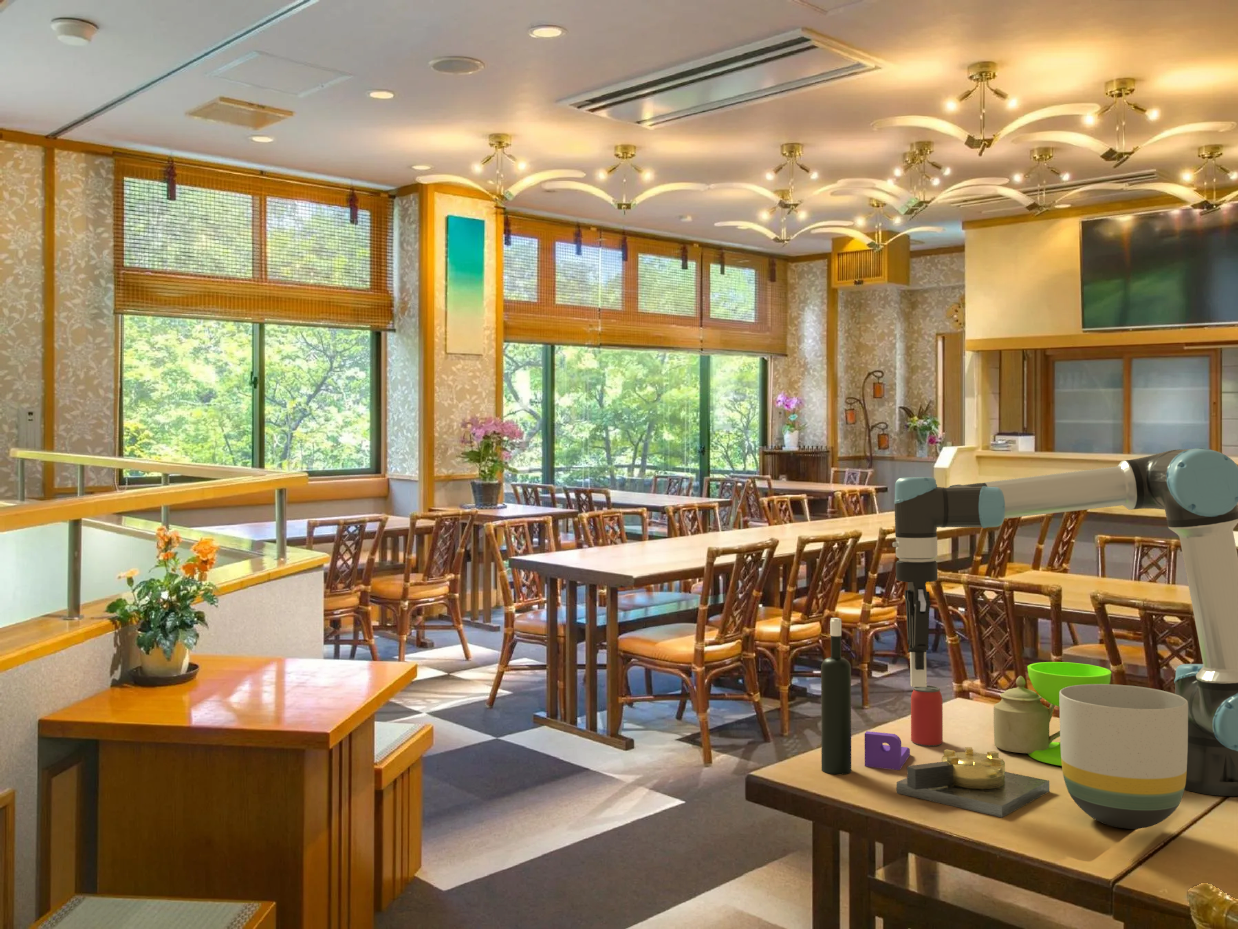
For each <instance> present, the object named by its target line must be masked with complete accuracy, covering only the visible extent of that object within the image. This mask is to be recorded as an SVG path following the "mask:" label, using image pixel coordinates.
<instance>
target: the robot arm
mask: <svg viewBox="0 0 1238 929" xmlns="http://www.w3.org/2000/svg"><path fill="white" fill-rule="evenodd" d="M893 502H894V503H893V504H894V530H895V531H894V532H895V534H894V535H895V541H893V542H892V546H891V547H893V548H895V557H896V558H898V560H897V561H896V562H895V579H896V581H899V582H904V583H907V589H905V590H904V602H905V614H906V630H907V642H906V643H907V644H908V648H907V652H908V653H909V663H910V664H909V665H910V668H909V672H910V674H909V675H910V676H909V677H910V680H909V681H910V686H911V688H913V687H927V685H928V684H927V683H928V682H927V679H928V678H927V677H928V676H927V651H929V648H930V647H929V641H930V640H929V634H930V632H929V630H930V609H931V603H932V602H931V600H930V596H931V595H930V591H928V590H927V585H926V584H927V583H933V582H936V581H937V580H938V576H939V575H938V574H939V573H938V571H939V570H938V562H937V560H935V559H937V558H938V533H937V530H938V528H983V529H987V528H997V527H1001V526H1002V524H1003V523H1004V521H1005V519H1013V518H1020V517H1021V518H1022V517H1031V516H1037V515H1038V516H1040V515H1049V514H1057V513H1068V512H1075V511H1085V510H1092V509H1102V508H1103V509H1104V508H1111V507H1121V506H1122V507H1124V508H1126V509H1128V510H1130V511H1133V510H1140V509H1141V510H1143V509H1145V510H1146V509H1150V510H1151V509H1154V510H1164V512H1165V517H1166V523H1167V528H1168V529H1169V530H1170V531H1172V532H1173V533H1175V534H1176V535H1178V538H1179V543H1180V548H1181V553H1182V558H1183V564H1184V570H1185V574H1186V580H1187V585H1188V591H1189V597H1190V600H1191V601H1190V602H1191V606H1192V612H1193V616H1194V621H1195V622H1194V623H1195V628H1196V633H1197V638H1198V644H1199V649H1200V655H1201V659H1202V663H1183V664H1180V665H1178V666H1177V667H1176V668H1175V678H1174V679H1173V682H1174V687H1175V688H1174V689H1175V690H1174V694H1176V695H1179V696H1181V697H1183V698H1185V699H1186V700H1187V702H1188V752H1187V774H1186V784H1185V789H1184V791H1189V792H1193V793H1197V794H1202V795H1210V796H1218V797H1219V796H1220V797H1238V551H1237V550H1238V549H1237V545H1236V540H1235V535H1234V529H1235V527H1236V526H1237V525H1238V465H1237V463H1236V462H1235V461H1234V460H1233V458H1231V457H1230V456H1227V455H1226V454H1225V453H1222V452H1220V451H1217V450H1213V449H1210V448H1203V447H1198V448H1189V449H1188V448H1187V449H1186V448H1185V449H1170V450H1167V451H1163V452H1159V453H1156V454H1152V455H1148V456H1144V457H1139V458H1133V459H1126V460H1125V459H1123V460H1121V461H1120V462H1119V463H1118V465H1117V466H1112V467H1111V466H1110V467H1102V468H1094V469H1085V470H1077V471H1076V470H1075V471H1069V472H1061V473H1060V472H1059V473H1051V474H1045V475H1035V476H1027V477H1019V478H1018V477H1017V478H1011V479H1002V480H995V481H985V482H978V483H968V484H952V485H949V486H948V487H944V486H943V487H941V486H938V484H937V480H936V478H934V477H932V476H925V477H924V476H919V477H918V476H915V477H914V476H911V477H909V476H908V477H907V476H906V477H900V478H898V479H897V480H896V482H895V483H894V501H893Z"/></svg>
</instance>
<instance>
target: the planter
mask: <svg viewBox="0 0 1238 929" xmlns="http://www.w3.org/2000/svg"><path fill="white" fill-rule="evenodd" d="M1059 706H1060V707H1059V731H1060V737H1059V740H1060V741H1059V742H1060V746H1061V763H1062V766H1061V771H1062V776H1063V780H1064V783H1065V786H1066V790H1067V792H1068V794H1069V795H1070V797H1071V799H1072V800H1073V801H1074V804H1076V805H1077V807H1079V809H1080V810H1082V811H1083V812H1084V813H1085V814H1087V815H1088V816H1089V817H1090V818H1092V819H1094V820H1095V821H1097V822H1100V823H1102V824H1104V825H1106V826H1111V827H1114V828H1119V829H1120V828H1121V829H1126V830H1127V829H1129V830H1137V829H1146V828H1150V827H1153V826H1156V825H1158V824H1160V823H1162V822H1164V821H1165V820H1166V819H1168V818H1169V817H1170V816H1171V815H1172V814H1173V813H1174V812H1175V811H1176V810H1177V809H1178V808H1179V805H1180V803H1181V801H1182V798H1183V795H1184V792H1185V790H1184V789H1185V784H1186V774H1187V752H1188V702H1187V700H1186V699H1185V698H1183V697H1181V696H1179V695H1176V694H1175V693H1173V692H1170V691H1166V690H1165V691H1164V690H1161V689H1156V688H1150V687H1143V686H1135V685H1123V684H1111V683H1109V684H1086V685H1075V686H1070V687H1066V688H1063V689H1061V690H1060V692H1059Z"/></svg>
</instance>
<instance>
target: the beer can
mask: <svg viewBox="0 0 1238 929" xmlns="http://www.w3.org/2000/svg"><path fill="white" fill-rule="evenodd" d="M912 688H913V691H912V692H911V694H910V695H911V696H910V741H911V742H912V743H913V744H915V745H918V746H922V747H937V746H940V745H942V744H943V741H944V740H943V739H944V738H943V733H944V732H943V730H944V729H943V728H944V727H943V726H944V725H943V724H944V723H943V720H944V719H943V714H944V713H943V712H944V711H943V704H944V703H943V701H944V700H943V699H944V698H943V696H942V693H941V689H940V687H938V686H935V685H928V684H927V687H912Z"/></svg>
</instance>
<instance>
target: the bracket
mask: <svg viewBox="0 0 1238 929" xmlns="http://www.w3.org/2000/svg"><path fill="white" fill-rule="evenodd" d="M886 744H887V745H886ZM910 756H911V748H909V747H907V746H902V740H901V738H900V736H899V735H898V734H895V733H888V732H879V731H871V730H870V731H867V730H866V731H865V732H864V767H868V768H876V769H886V770H895V771H900V770H901V769H902V767H903V766H904V765H905V763H906V762H907V760H908V758H909V757H910Z"/></svg>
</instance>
